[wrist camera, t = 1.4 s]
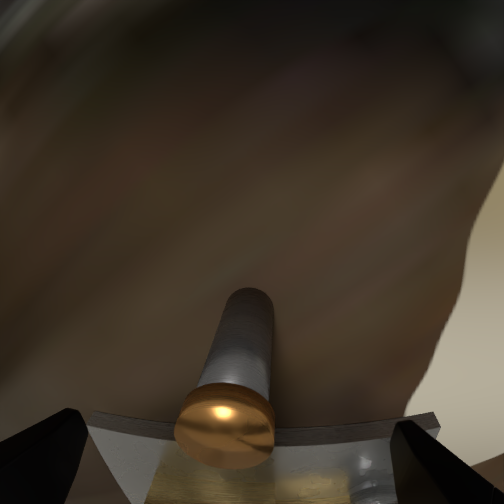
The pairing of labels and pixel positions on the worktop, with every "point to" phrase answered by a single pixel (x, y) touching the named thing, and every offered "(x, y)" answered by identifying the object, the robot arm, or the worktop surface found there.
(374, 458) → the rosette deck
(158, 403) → the worktop surface
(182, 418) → the lever with copper knob
